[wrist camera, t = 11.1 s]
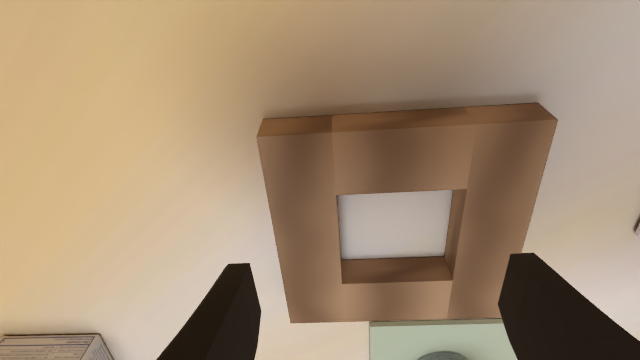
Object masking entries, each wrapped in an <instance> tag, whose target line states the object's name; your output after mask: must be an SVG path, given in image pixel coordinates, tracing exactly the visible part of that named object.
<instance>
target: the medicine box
mask: <svg viewBox="0 0 640 360" xmlns="http://www.w3.org/2000/svg"><path fill="white" fill-rule="evenodd" d="M0 360H113V359H112V356H111V354H110V352H109V351H108V349H107V347H106V345H105V343H104V342H103V340H102V338H101V337H100V335H98V334H94V335H48V336H2V337H1V338H0Z"/></svg>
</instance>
